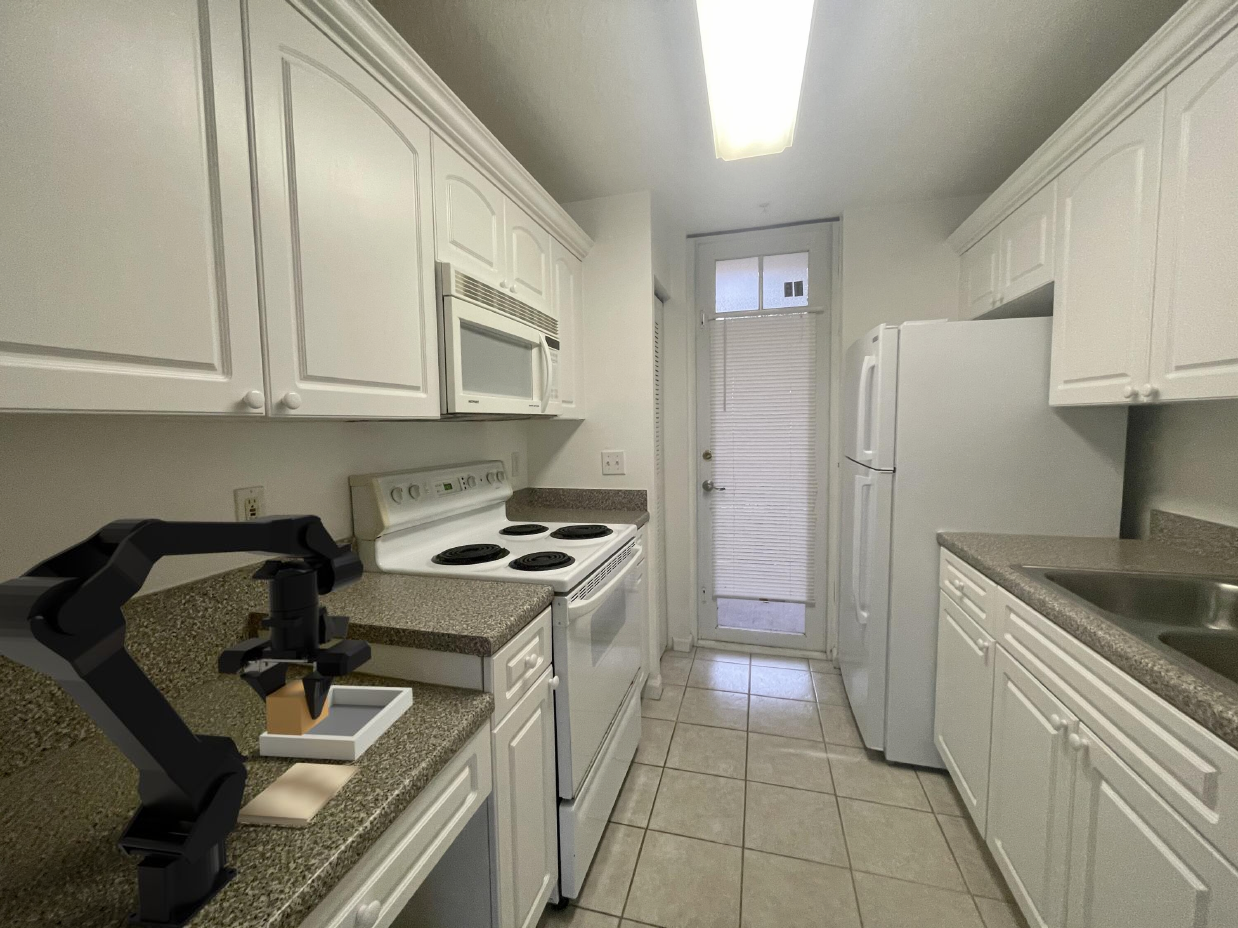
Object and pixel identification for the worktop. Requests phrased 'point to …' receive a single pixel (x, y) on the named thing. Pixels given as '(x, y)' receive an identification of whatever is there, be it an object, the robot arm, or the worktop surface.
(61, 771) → the worktop surface
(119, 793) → the worktop surface
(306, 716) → the block
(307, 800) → the pad
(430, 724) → the worktop surface
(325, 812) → the worktop surface
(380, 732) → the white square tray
